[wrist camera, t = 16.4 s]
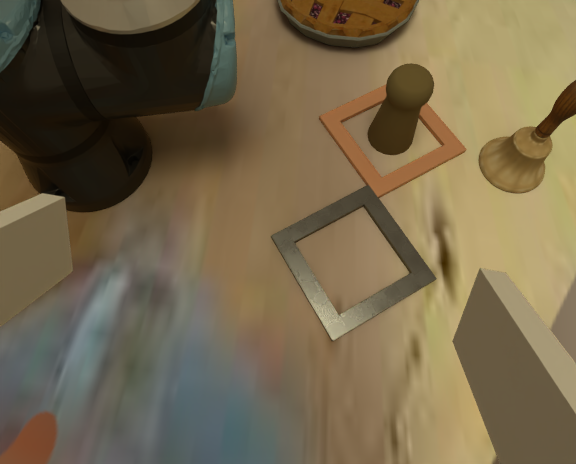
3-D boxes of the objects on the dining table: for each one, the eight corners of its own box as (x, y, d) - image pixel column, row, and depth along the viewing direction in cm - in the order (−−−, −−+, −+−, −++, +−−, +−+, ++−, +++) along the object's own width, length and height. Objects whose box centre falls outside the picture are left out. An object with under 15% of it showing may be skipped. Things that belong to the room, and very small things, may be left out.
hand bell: (469, 175, 51) (543, 88, 36) (491, 128, 54) (568, 29, 39) (531, 204, 49) (636, 126, 35) (551, 155, 52) (656, 62, 37)
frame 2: (271, 237, 48) (271, 235, 47) (367, 186, 50) (368, 184, 50) (332, 341, 43) (332, 340, 43) (434, 280, 46) (436, 278, 45)
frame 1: (319, 119, 54) (319, 116, 54) (402, 79, 57) (403, 76, 56) (376, 199, 50) (377, 196, 49) (464, 151, 52) (466, 149, 52)
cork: (375, 111, 55) (395, 48, 44) (418, 125, 54) (448, 64, 43) (361, 146, 53) (378, 88, 42) (405, 161, 52) (434, 105, 41)
